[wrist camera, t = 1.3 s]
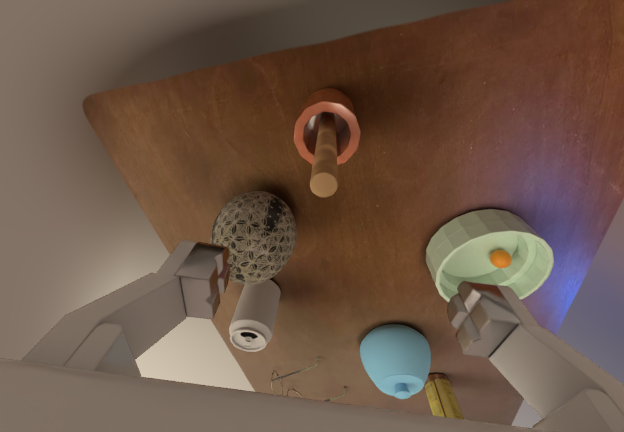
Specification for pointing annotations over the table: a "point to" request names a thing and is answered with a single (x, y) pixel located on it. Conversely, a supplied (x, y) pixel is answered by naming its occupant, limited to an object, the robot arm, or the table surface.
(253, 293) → the can
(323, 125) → the stirring stick
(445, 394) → the sauce bottle
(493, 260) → the bead
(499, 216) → the bowl
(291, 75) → the table surface
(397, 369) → the sugar bowl
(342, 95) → the utensil pot
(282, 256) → the decorative egg
